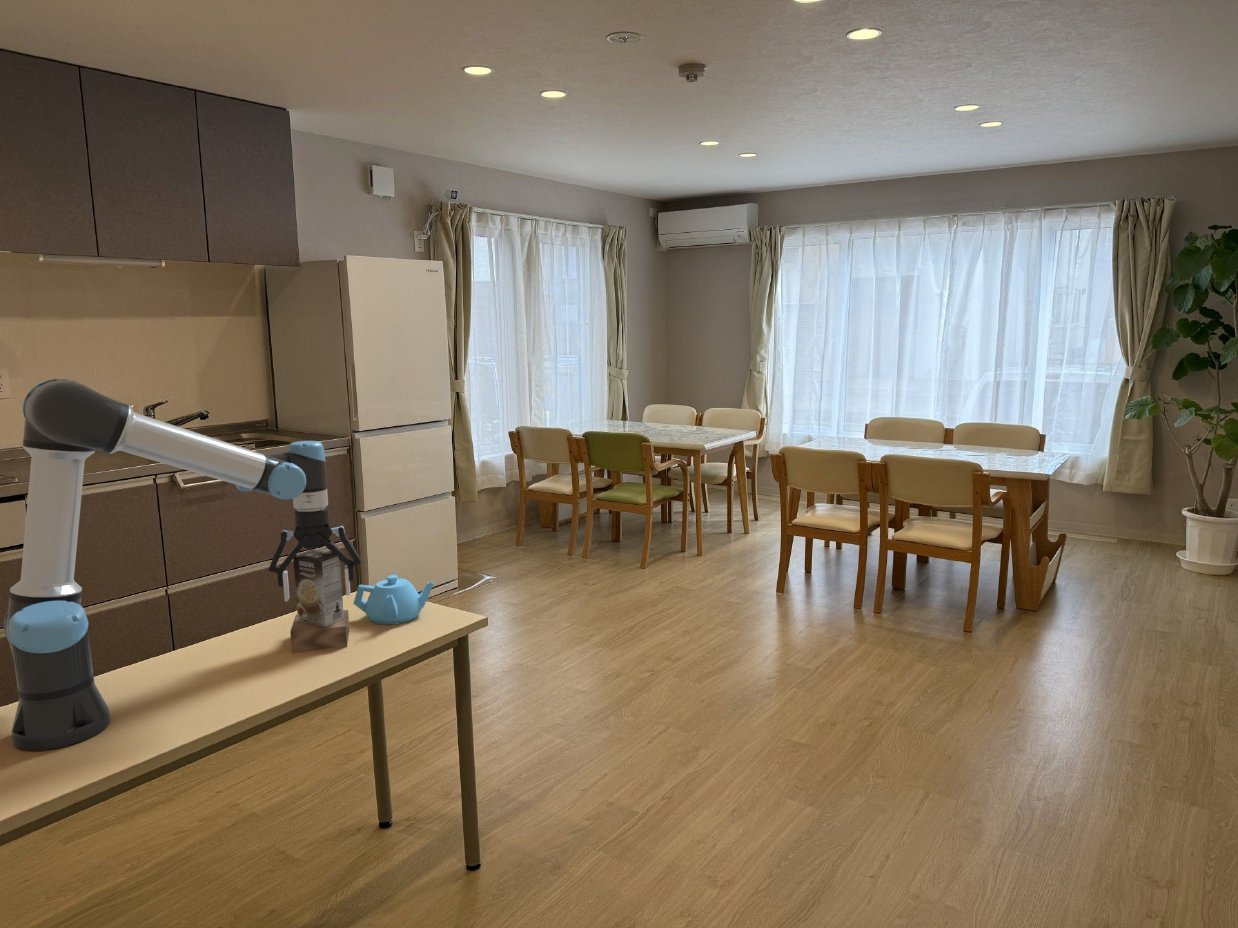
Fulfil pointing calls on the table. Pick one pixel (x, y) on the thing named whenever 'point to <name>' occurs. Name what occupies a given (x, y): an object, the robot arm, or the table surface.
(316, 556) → the coffee box
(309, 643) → the walnut base
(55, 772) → the table surface
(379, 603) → the teapot
